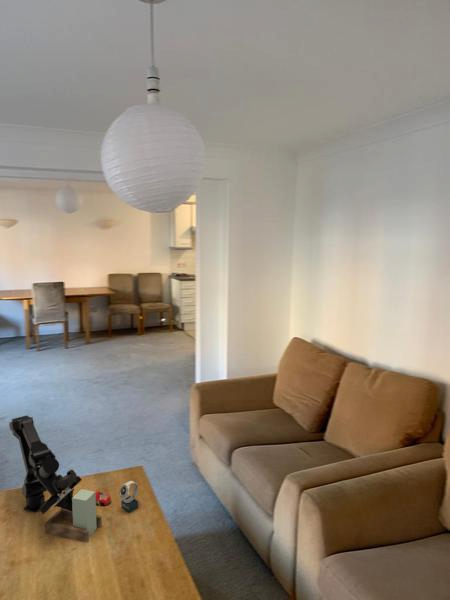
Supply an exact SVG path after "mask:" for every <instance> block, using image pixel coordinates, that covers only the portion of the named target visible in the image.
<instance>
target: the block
mask: <svg viewBox="0 0 450 600" xmlns="http://www.w3.org/2000/svg"><path fill="white" fill-rule="evenodd" d="M94 491H95V490H89V489H88V490H87V489H83V488H82V489H80V490H79V491H77V493H76V494H75V495H73V498H72V510H73V522H72V527H75V528H80V529H85V530H89V537H90V536H91V535H92V534H93V533H94V532H95V531H96V529H97V528H98V527H97V523H96V515H97V505H96V496H95V492H94Z"/></svg>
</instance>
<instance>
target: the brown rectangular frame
mask: <svg viewBox="0 0 450 600" xmlns="http://www.w3.org/2000/svg"><path fill="white" fill-rule="evenodd" d="M102 520H103V519H102V515H99V514H96V523H97V528H101V527H102V526H103V522H102ZM62 521H69V522H72V523H73V512H72V511H69V510H67V509H64V508H61V507H60V509H59V510H58V511H57V512H55V513H54V515H52V516H51V517H50V518H49V519H48V520H47V521H46V522H44V533H45V534H47V535H52V536H56V537H60V538H65V539H69V540H73V541H79V542H83V543H88V542H89V541H90V538H89V537H90V536H89V530H85V529H80V528H75V527H73V526H71V525H65V524H60V523H61V522H62Z"/></svg>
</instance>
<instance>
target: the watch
mask: <svg viewBox="0 0 450 600" xmlns="http://www.w3.org/2000/svg"><path fill="white" fill-rule="evenodd" d="M131 485H134V487H133V490H132V493H131V495H130V491H131V490H130V489H131ZM118 493H119V497H120V499H121V501H120V503H121V509H123V510H125V511H126V512H128V513H132V512H134V511H135V510H138V509H139V501H138V500H137V499H136V497H137V495H138V493H139V485H138V483H137V482H135V481H133V480H129V481H126V482H125V483H124V484H122V485H121V486H120V488H119V491H118Z"/></svg>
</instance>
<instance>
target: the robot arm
mask: <svg viewBox="0 0 450 600" xmlns="http://www.w3.org/2000/svg"><path fill="white" fill-rule="evenodd" d="M8 426H9V429H10V431H11V432H12V435H13V436H14V437H15V439H17V440H18V443H19V444H18V445H19V447H20V451H21V455H22V460H23V464H24V469H25V471H26V474H25V476H24V480H23V483H24V484H23V485H22V487H21V494H22V495H23V497H24V499H25V502H26V504H25V506H24V507H23V510H25V511H30V512H34V513H35V512H36V513H38V512H39V511H40V512H41V514H42V515H45V514H46V513H47V512H48V511H49V510H50V509H51V508H52V507H54V508H56V507H58V508H60V509H61V508H64V509H67V510H69V511H72V512H73V510H72V498H73V497H74V490H75V487H76V486H77V485H78V484H80V482H82V478H81V476H79V475H77V473H76V472H75V471H74V469H69V470H68V471H67V472H66V474H65V475H64V476H63V475H61V474H58V475H57V472H58V470H59V468H60V462H59V460H57V459H56V454H54V452H52V450H51V449H50V448H49V447H48V445H47V444H46V443H45V442H44V443H43V441H42V440H41V438H40V436H39V434H38V432H37V429H36V426H35V423H34V418H33V416H31V417H30V416H28V415H24V416H23V415H22V416H19V417H15V418H12V419H11V421H9V425H8ZM45 492H48V494H50V497H49V498H48V499H47V500H45V499H46V498H45Z"/></svg>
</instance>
